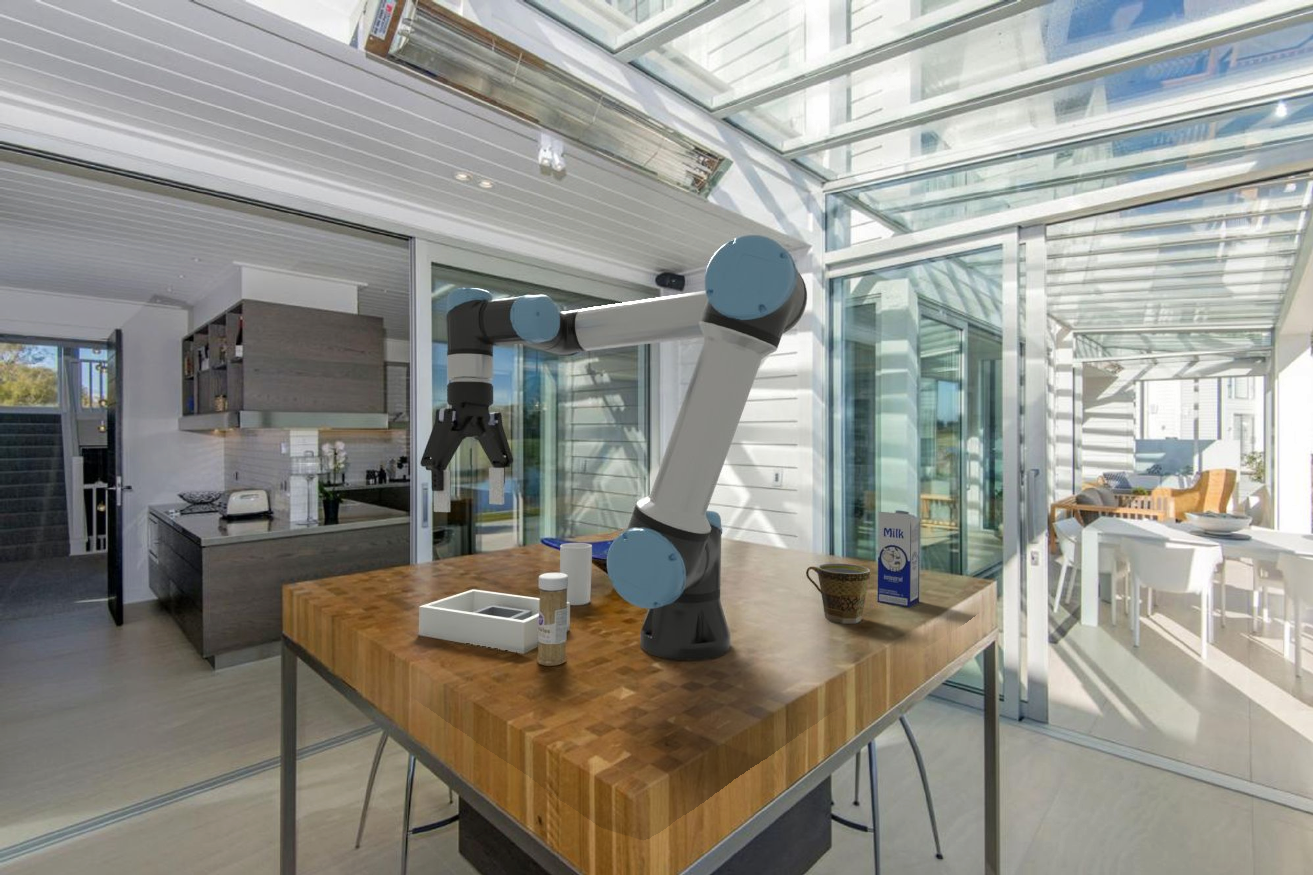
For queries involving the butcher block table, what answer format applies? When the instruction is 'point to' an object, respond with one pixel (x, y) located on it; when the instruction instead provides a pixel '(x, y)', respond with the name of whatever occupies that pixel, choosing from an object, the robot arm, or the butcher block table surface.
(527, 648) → the tray
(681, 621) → the robot arm
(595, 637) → the butcher block table surface
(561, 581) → the sprinkles bottle
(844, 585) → the ceramic cup
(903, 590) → the milk carton
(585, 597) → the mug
